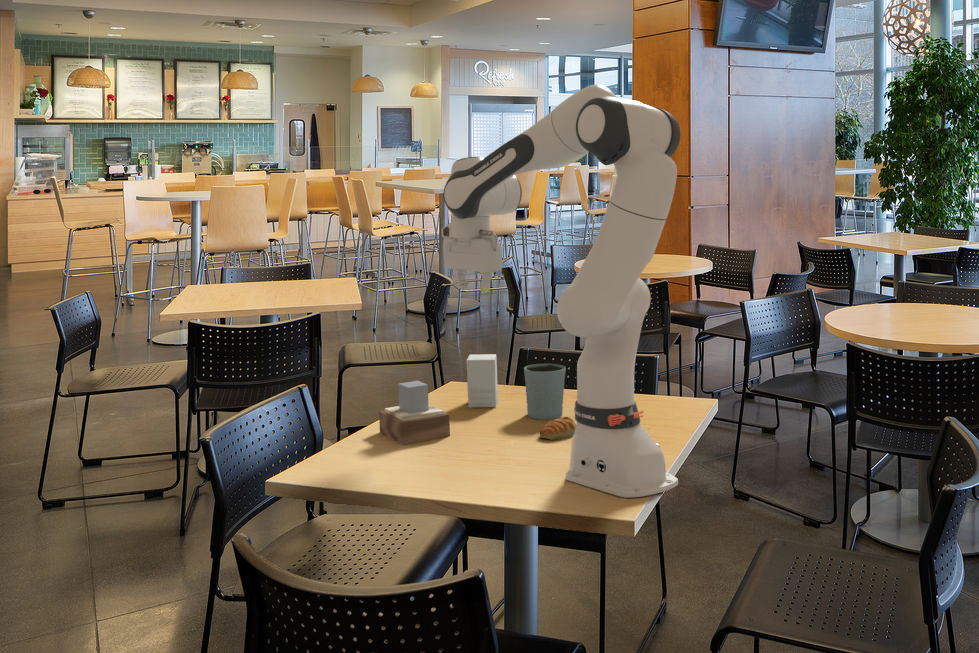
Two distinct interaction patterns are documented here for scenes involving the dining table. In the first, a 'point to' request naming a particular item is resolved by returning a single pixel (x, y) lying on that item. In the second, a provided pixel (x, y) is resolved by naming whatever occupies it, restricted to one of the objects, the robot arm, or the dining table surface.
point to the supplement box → (482, 380)
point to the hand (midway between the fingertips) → (473, 289)
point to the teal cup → (544, 390)
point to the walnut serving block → (414, 424)
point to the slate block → (413, 397)
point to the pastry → (558, 428)
